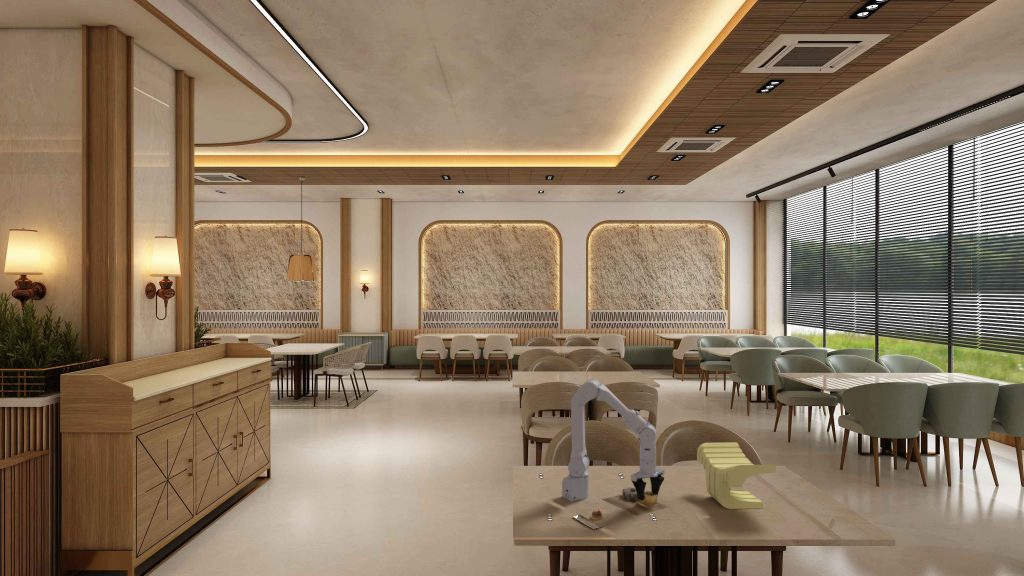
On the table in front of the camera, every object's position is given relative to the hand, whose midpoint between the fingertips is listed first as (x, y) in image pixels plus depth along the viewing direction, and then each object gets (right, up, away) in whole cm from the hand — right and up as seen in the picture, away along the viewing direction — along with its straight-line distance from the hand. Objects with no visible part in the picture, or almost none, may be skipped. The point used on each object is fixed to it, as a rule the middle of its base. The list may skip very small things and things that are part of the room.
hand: (647, 498), depth 212 cm
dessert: (-20, -4, -13) cm, 24 cm away
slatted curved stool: (+32, -3, +5) cm, 33 cm away
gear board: (-5, -3, +1) cm, 6 cm away
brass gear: (0, -2, 0) cm, 2 cm away
